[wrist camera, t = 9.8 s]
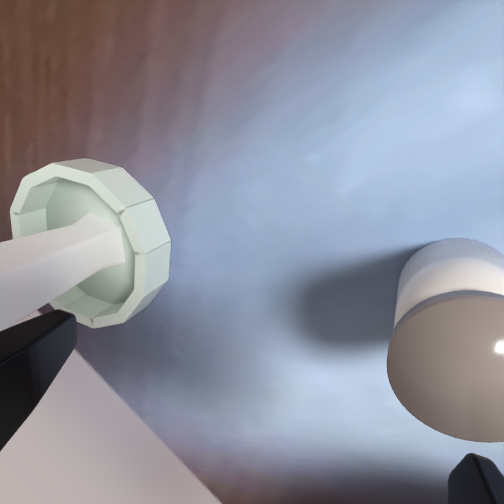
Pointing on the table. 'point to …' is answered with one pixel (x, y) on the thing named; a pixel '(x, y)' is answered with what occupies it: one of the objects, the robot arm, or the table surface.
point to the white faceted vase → (54, 264)
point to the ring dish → (112, 209)
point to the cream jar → (451, 339)
